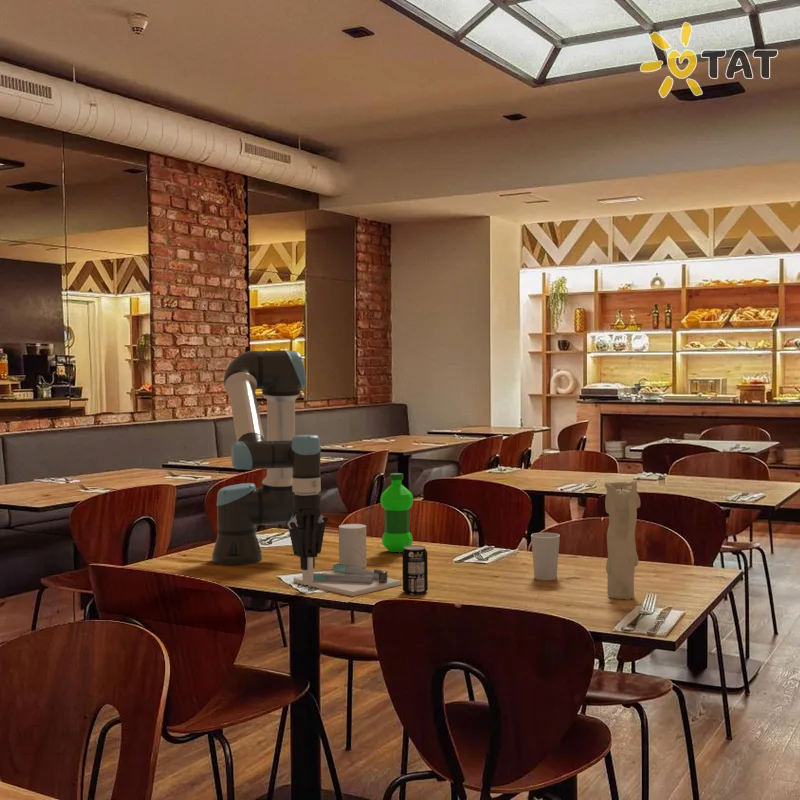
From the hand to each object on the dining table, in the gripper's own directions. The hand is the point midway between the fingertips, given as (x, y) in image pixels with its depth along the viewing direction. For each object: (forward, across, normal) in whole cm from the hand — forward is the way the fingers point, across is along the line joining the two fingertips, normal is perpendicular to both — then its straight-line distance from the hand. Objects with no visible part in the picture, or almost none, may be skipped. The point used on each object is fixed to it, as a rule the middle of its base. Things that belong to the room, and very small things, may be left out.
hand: (307, 581), depth 261 cm
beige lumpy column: (+3, +48, -66) cm, 82 cm away
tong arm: (+1, +9, -3) cm, 10 cm away
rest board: (+2, +12, -2) cm, 13 cm away
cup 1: (+3, +29, +14) cm, 33 cm away
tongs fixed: (+2, +17, -2) cm, 17 cm away
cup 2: (+3, +54, -38) cm, 66 cm away
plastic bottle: (+3, +54, +20) cm, 58 cm away
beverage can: (+3, +17, -23) cm, 29 cm away
